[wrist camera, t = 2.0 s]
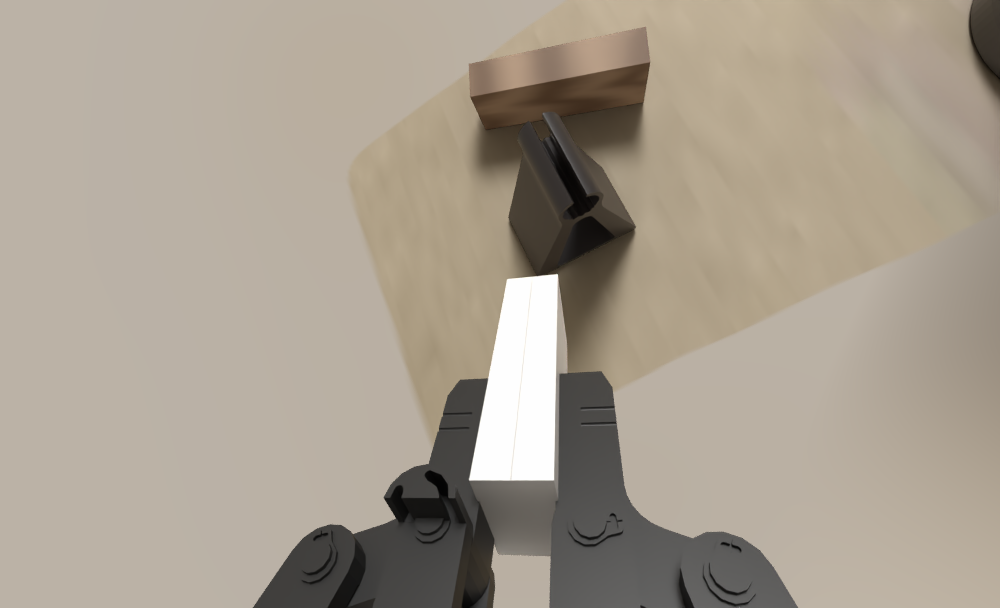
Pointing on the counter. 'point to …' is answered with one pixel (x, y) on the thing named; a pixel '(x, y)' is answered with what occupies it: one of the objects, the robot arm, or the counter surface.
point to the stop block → (561, 79)
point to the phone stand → (562, 199)
